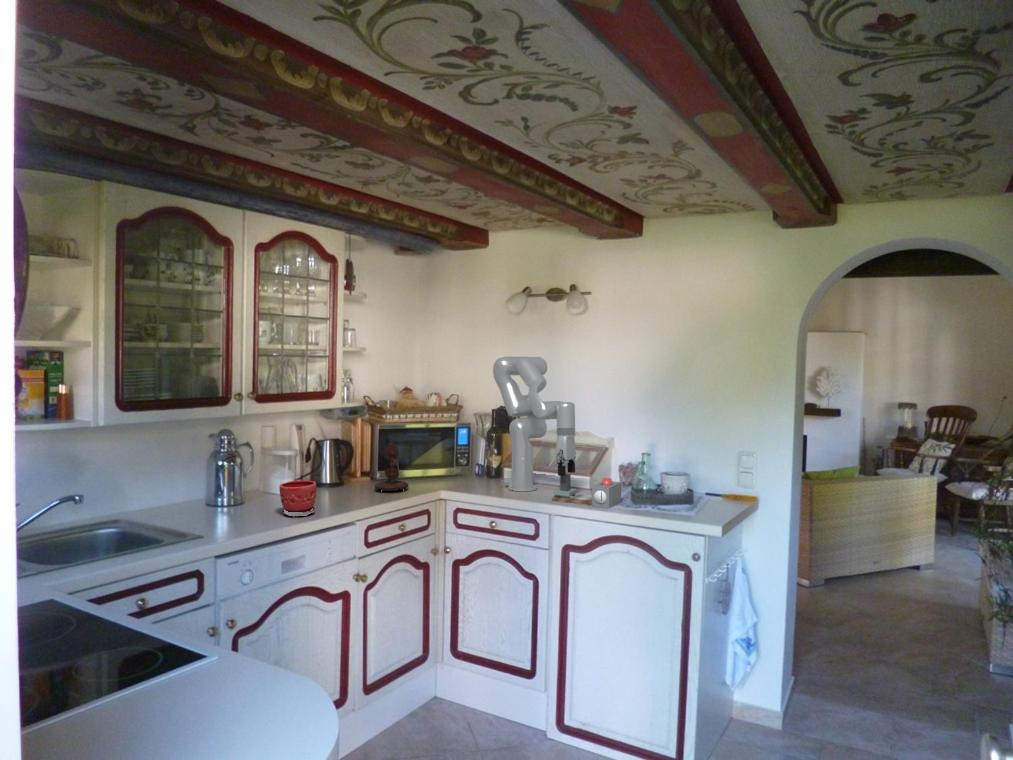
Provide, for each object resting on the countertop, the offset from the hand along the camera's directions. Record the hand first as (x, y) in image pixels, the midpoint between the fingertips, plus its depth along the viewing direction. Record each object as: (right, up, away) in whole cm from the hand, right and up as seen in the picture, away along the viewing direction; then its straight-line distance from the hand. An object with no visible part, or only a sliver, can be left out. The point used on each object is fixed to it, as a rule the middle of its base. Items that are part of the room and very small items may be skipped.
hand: (566, 474), depth 295 cm
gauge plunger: (+15, -6, -8) cm, 18 cm away
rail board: (+4, -11, -2) cm, 12 cm away
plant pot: (-102, -12, -27) cm, 106 cm away
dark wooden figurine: (-75, -10, +21) cm, 79 cm away
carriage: (0, -8, +1) cm, 8 cm away
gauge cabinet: (+15, -11, -8) cm, 20 cm away
